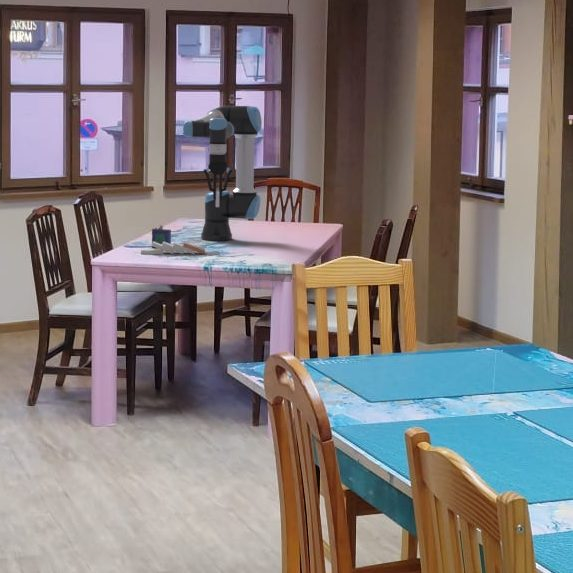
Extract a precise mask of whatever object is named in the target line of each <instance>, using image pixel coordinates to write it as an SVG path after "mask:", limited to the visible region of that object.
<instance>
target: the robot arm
mask: <svg viewBox="0 0 573 573" xmlns="http://www.w3.org/2000/svg"><path fill="white" fill-rule="evenodd" d="M262 124H263V123H262V117H261V112H260V110H259V108H258V107H257V106H250V105H223V106H219V107H215V108H213V109H211V110H209V111H208V112H207V113H206V115H204V116H201V117H200V118H198V119H196V120H185V121H184V123H183V125H182V132H183V135H184V137H186V138H190V139H191V138H192V139H193V138H194V139H197V138H199V139H209V143H208V144H209V150H208V151H209V160H208V161H209V162H208V166H207V167H206V168H204V169H203V171H202V172H203V173H204V175H205V176H206V180H207V185H208V190H209V191H210V192H208V193H207V194H205V198H204V199H205V201H204V225H203V227H202V232H201V234H200V239H201V240H205V241H218V242H219V241H222V242H223V241H230V239H231V240H232V239H233V234H232V231H231V227H230V219H240V220H241V219H245V220H251V219H252V220H255V218H257V217H258V214H259V212H260V208H261V207H260V206H261V196H260V195H258V194H257V190H256V189H255V188H254V185H255V184H254V181H255V180H254V177H255V172H254V171H255V139H256V137H257V136H258V134H259V133H258V132H260V131H261V130H262ZM233 135H234V137H235V138H236V145H235V146H236V149H235V150H236V151H235V152H236V153H235V155H236V156H235V157H236V158H235V160H236V161H235V164H236V166H235V171H236V172H235V188H234V189H233V190H232V193H230V191H229V190H227V187H228V183H229V179H230V176H231V174H232V172H233V169H232V168H229V167H228V165H227V154H226V153H227V139H229V138H230V137H232V136H233ZM210 172H211V174H212V175H213V176H212V177H213V178H212V179H213V180H212V181H213V182H211V180H210V179H211V178H210V175H209V173H210ZM225 172H226V176H225V179H224V183H223V174H224V173H225ZM217 175H218V191H217ZM211 183H212V184H213V185H212V184H211Z"/></svg>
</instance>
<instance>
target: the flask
mask: <svg viewBox="0 0 573 573" xmlns="http://www.w3.org/2000/svg"><path fill="white" fill-rule="evenodd" d="M153 241H154V242H157V243H159V244H162V243H163V241H164V242H167V243H169V244H172V230H171V229H166V228H164V225H159V227H154V228H152V229H151V244H152V243H153ZM151 249H157V248H156V247H153V246H152V245H151Z"/></svg>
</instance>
